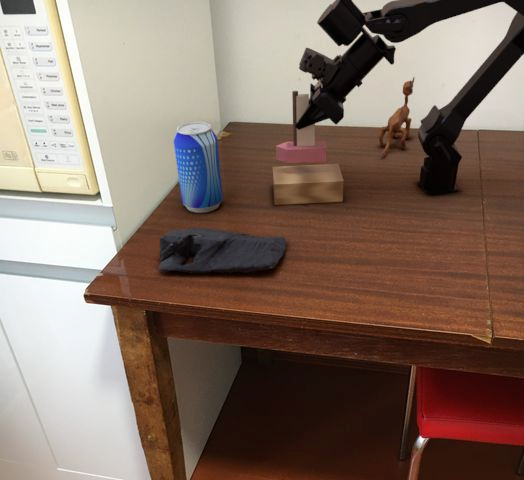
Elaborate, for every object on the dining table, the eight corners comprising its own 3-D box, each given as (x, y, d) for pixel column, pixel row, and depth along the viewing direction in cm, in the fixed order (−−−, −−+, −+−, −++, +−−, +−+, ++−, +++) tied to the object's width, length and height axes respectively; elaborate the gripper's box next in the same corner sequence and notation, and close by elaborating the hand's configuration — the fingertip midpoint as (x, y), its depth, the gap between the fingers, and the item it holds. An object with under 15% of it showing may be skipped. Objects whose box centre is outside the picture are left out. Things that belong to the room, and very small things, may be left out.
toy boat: (325, 153, 124) (326, 87, 116) (326, 161, 121) (327, 93, 113) (276, 155, 125) (274, 89, 117) (276, 163, 122) (273, 95, 113)
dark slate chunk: (275, 284, 99) (274, 260, 96) (150, 274, 103) (146, 250, 100) (291, 240, 110) (291, 216, 107) (179, 232, 115) (176, 209, 112)
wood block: (337, 183, 129) (338, 163, 126) (342, 201, 122) (343, 180, 119) (273, 186, 129) (272, 166, 126) (274, 205, 122) (273, 184, 119)
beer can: (174, 207, 124) (162, 129, 114) (204, 193, 128) (195, 117, 118) (201, 218, 119) (192, 138, 109) (231, 203, 124) (225, 125, 114)
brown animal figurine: (395, 161, 137) (401, 99, 128) (368, 157, 140) (372, 96, 131) (417, 135, 149) (424, 77, 141) (391, 132, 152) (397, 75, 143)
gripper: (323, 21, 115) (269, 84, 123) (326, 44, 101) (264, 113, 108) (362, 63, 120) (307, 121, 127) (370, 91, 105) (308, 154, 113)
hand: (296, 126), depth 119 cm, fingers closed on toy boat
